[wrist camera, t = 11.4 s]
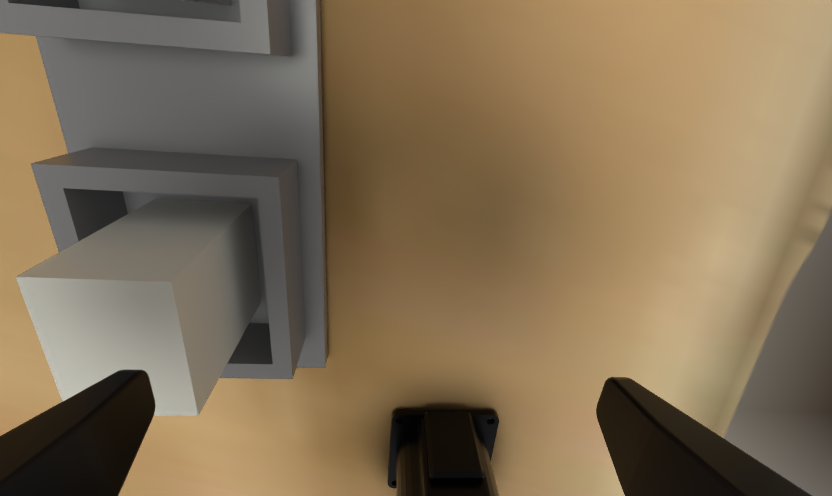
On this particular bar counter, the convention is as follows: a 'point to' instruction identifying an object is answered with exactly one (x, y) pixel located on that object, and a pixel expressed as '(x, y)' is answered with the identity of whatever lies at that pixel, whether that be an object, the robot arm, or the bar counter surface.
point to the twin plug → (149, 300)
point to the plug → (214, 1)
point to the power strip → (196, 138)
